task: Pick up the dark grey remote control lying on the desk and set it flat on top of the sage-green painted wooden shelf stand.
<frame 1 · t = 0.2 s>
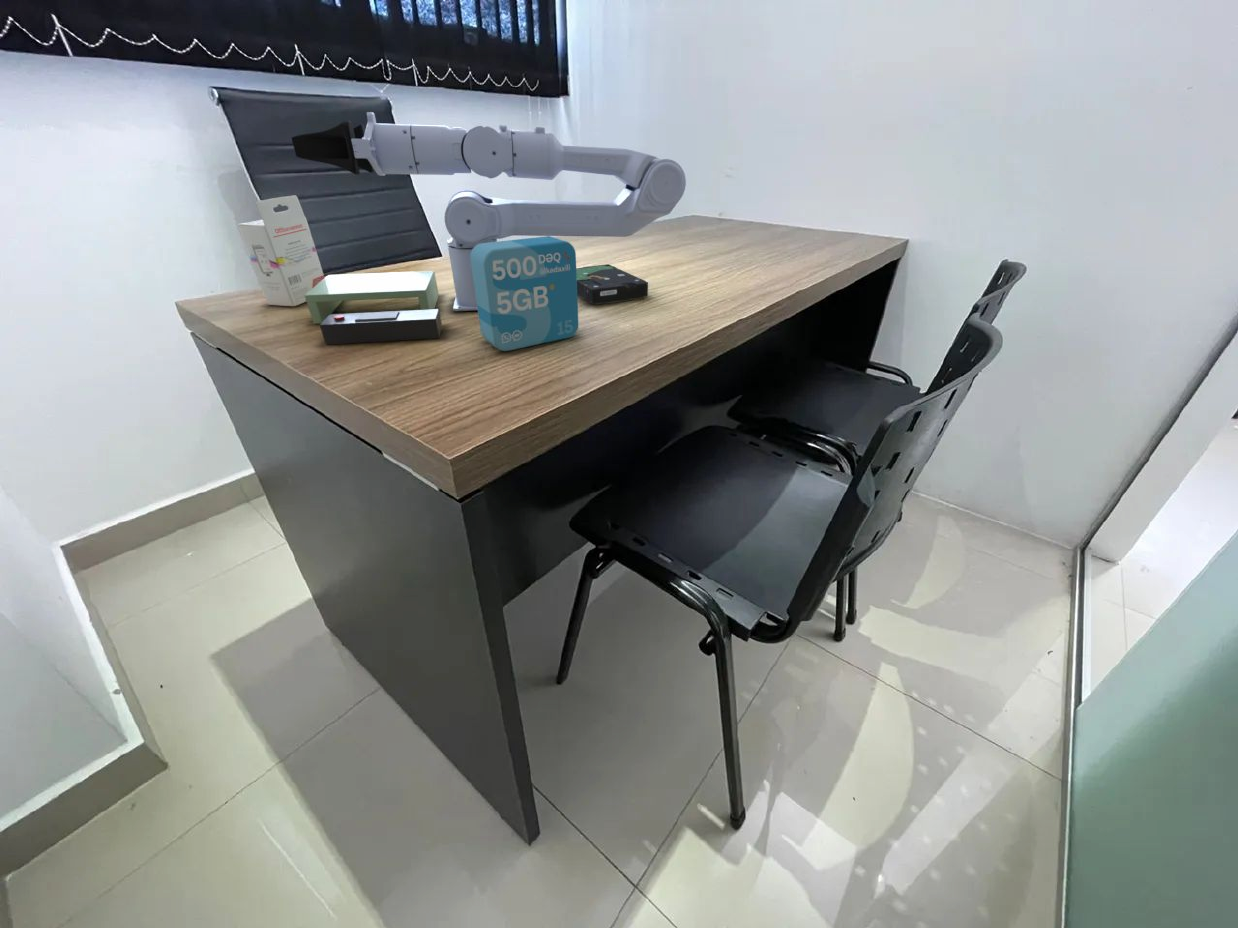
hand: (303, 147, 66), 21 cm above the table, tool horizontal, fingers open, 7 cm apart
shelf: (381, 308, 79), on the table
disk drive: (601, 292, 88), on the table
ink cartridge box: (299, 300, 83), on the table
remote: (386, 335, 68), on the table
data package: (531, 341, 68), on the table
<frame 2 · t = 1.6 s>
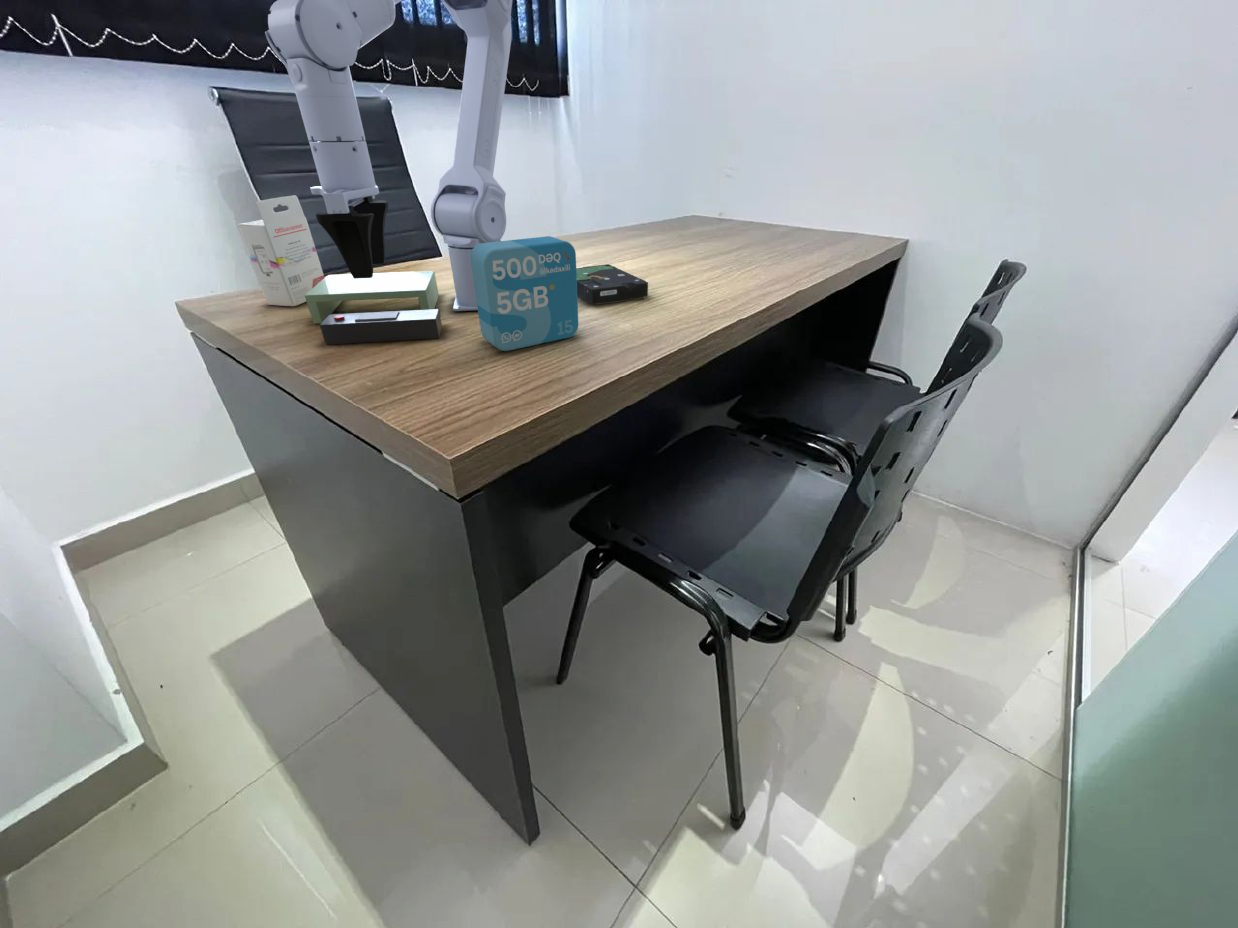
hand: (370, 270, 64), 8 cm above the table, tool pointing down, fingers open, 7 cm apart
nothing on the table moved.
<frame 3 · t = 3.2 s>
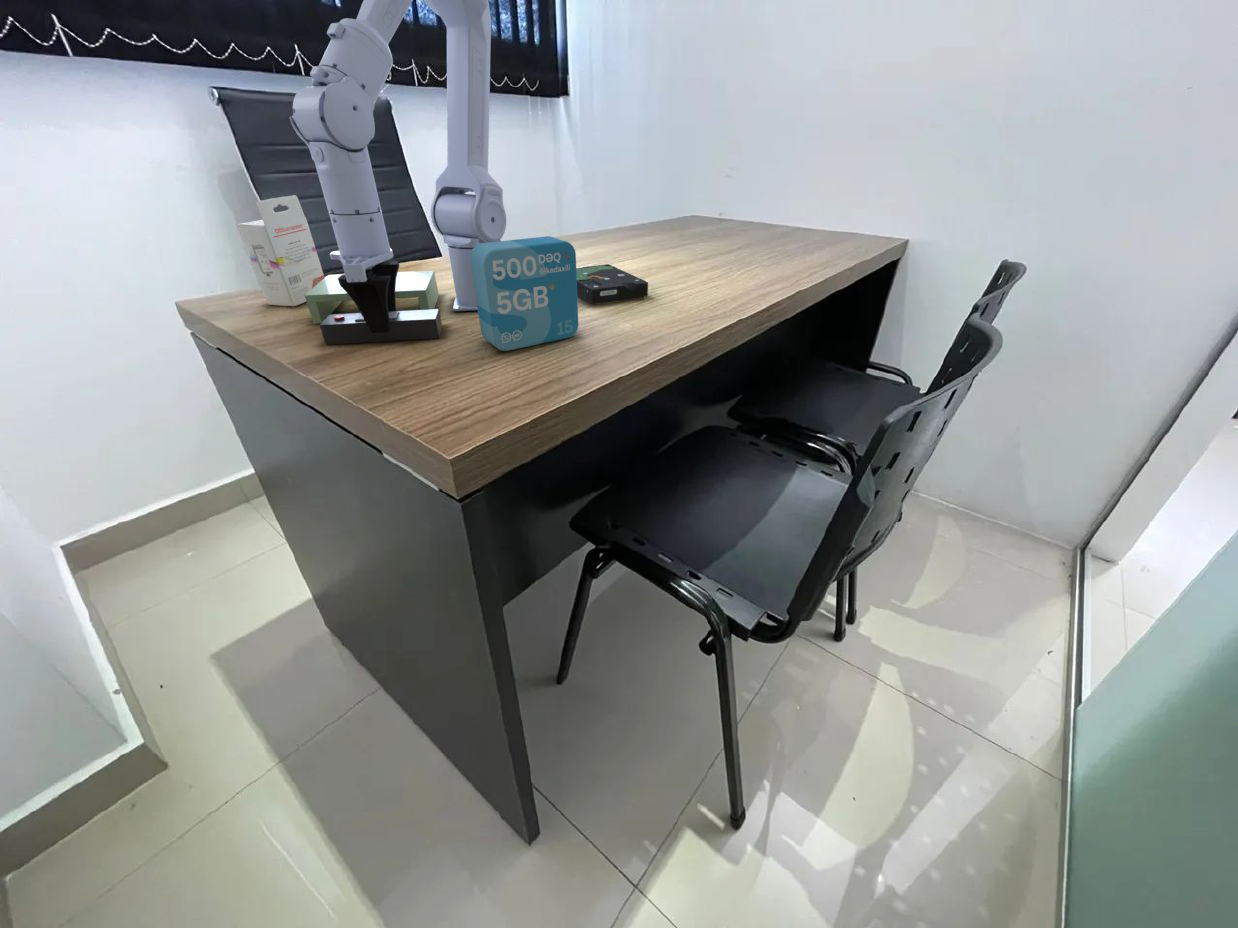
hand: (384, 325, 68), 1 cm above the table, tool pointing down, fingers closed on remote, 4 cm apart
remote: (386, 336, 68), on the table, touching gripper
everything else where it was.
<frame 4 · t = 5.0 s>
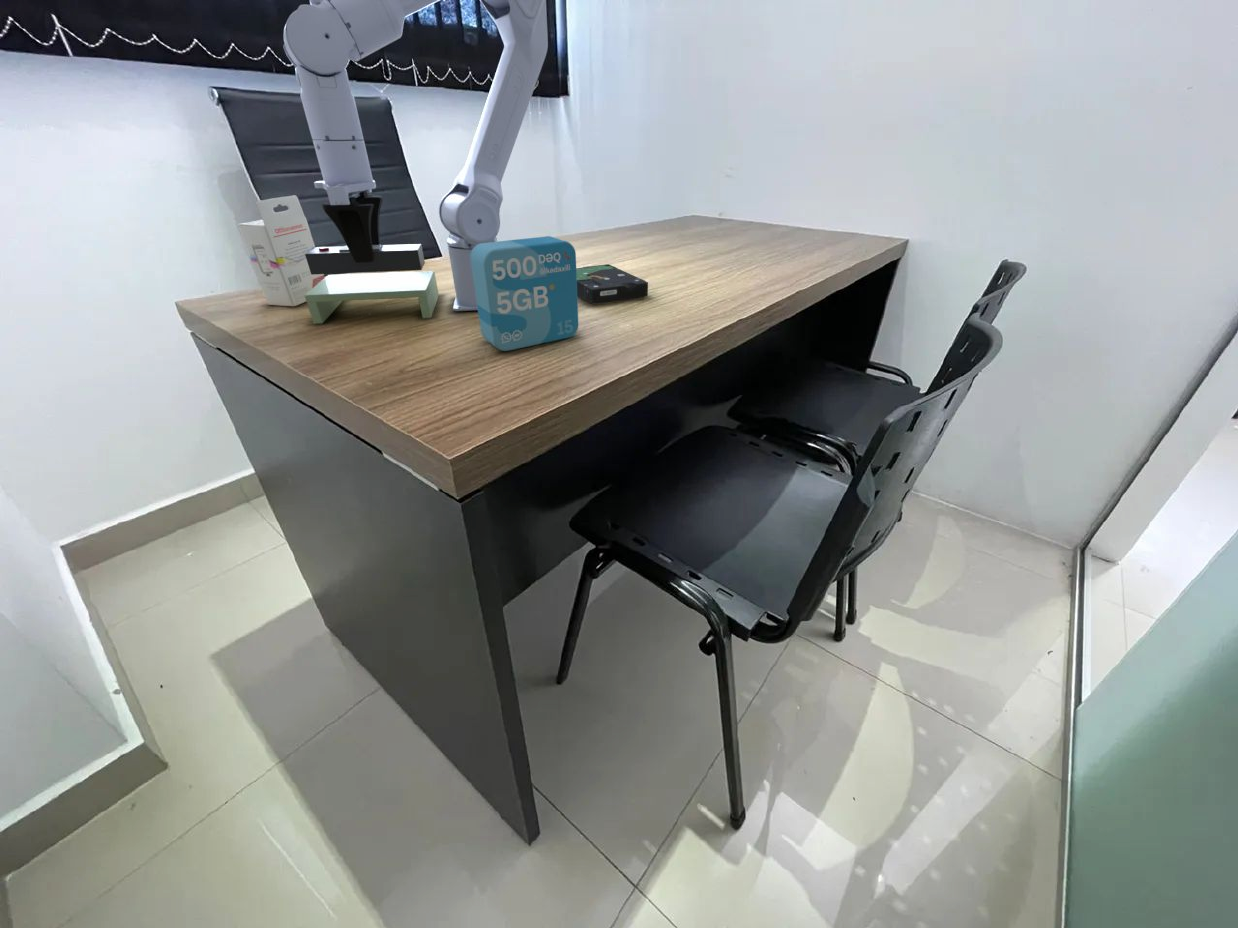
hand: (368, 257, 70), 8 cm above the table, tool pointing down, fingers closed on remote, 4 cm apart
remote: (370, 268, 71), point 7 cm above the table, touching gripper
everything else where it was.
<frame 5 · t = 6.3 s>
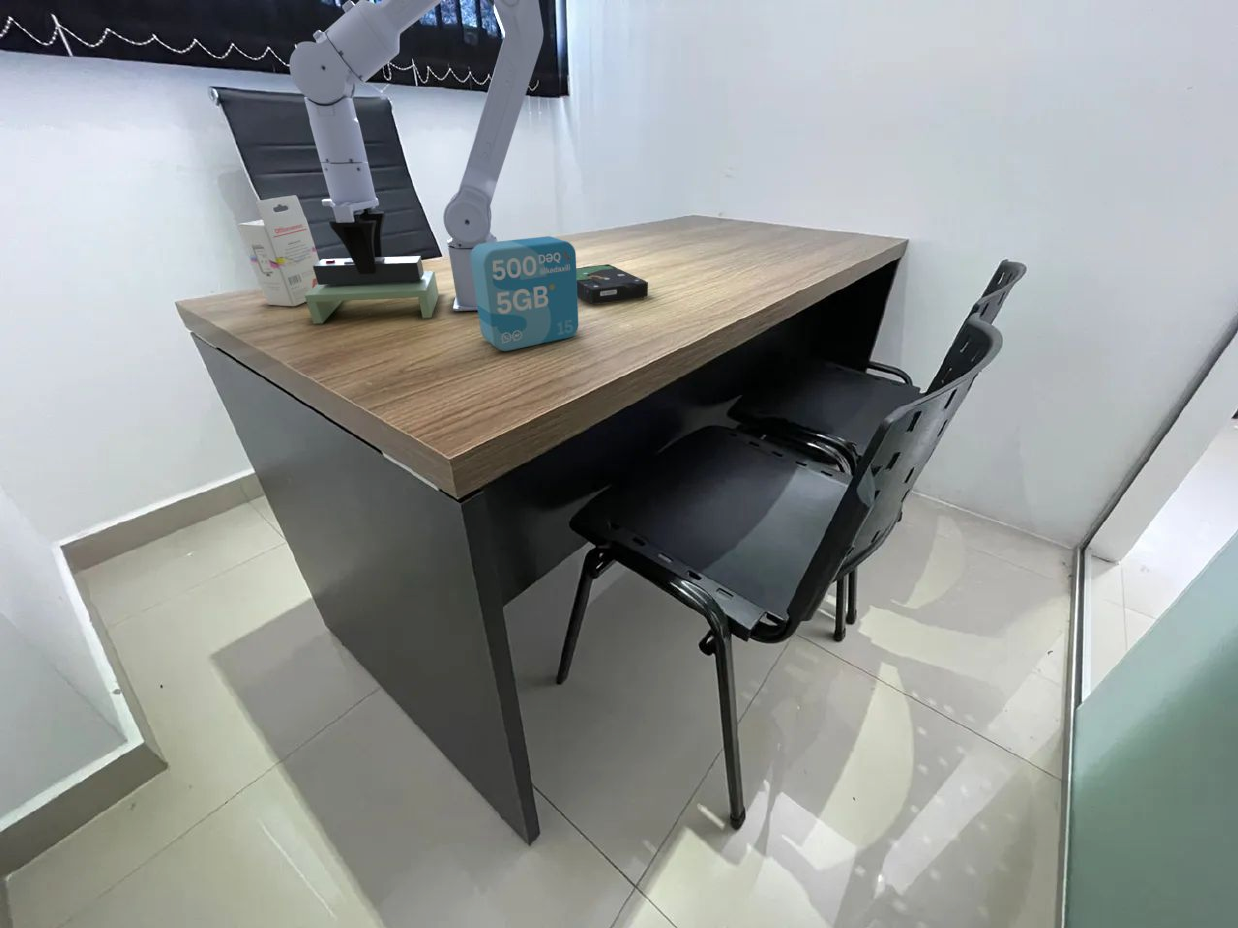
hand: (371, 269, 75), 6 cm above the table, tool pointing down, fingers closed on remote, 4 cm apart
remote: (373, 279, 76), point 4 cm above the table, touching gripper
everything else where it was.
when the fingers open (5 cm above the table, at t = 6.9 s): remote stays where it is, resting on shelf.
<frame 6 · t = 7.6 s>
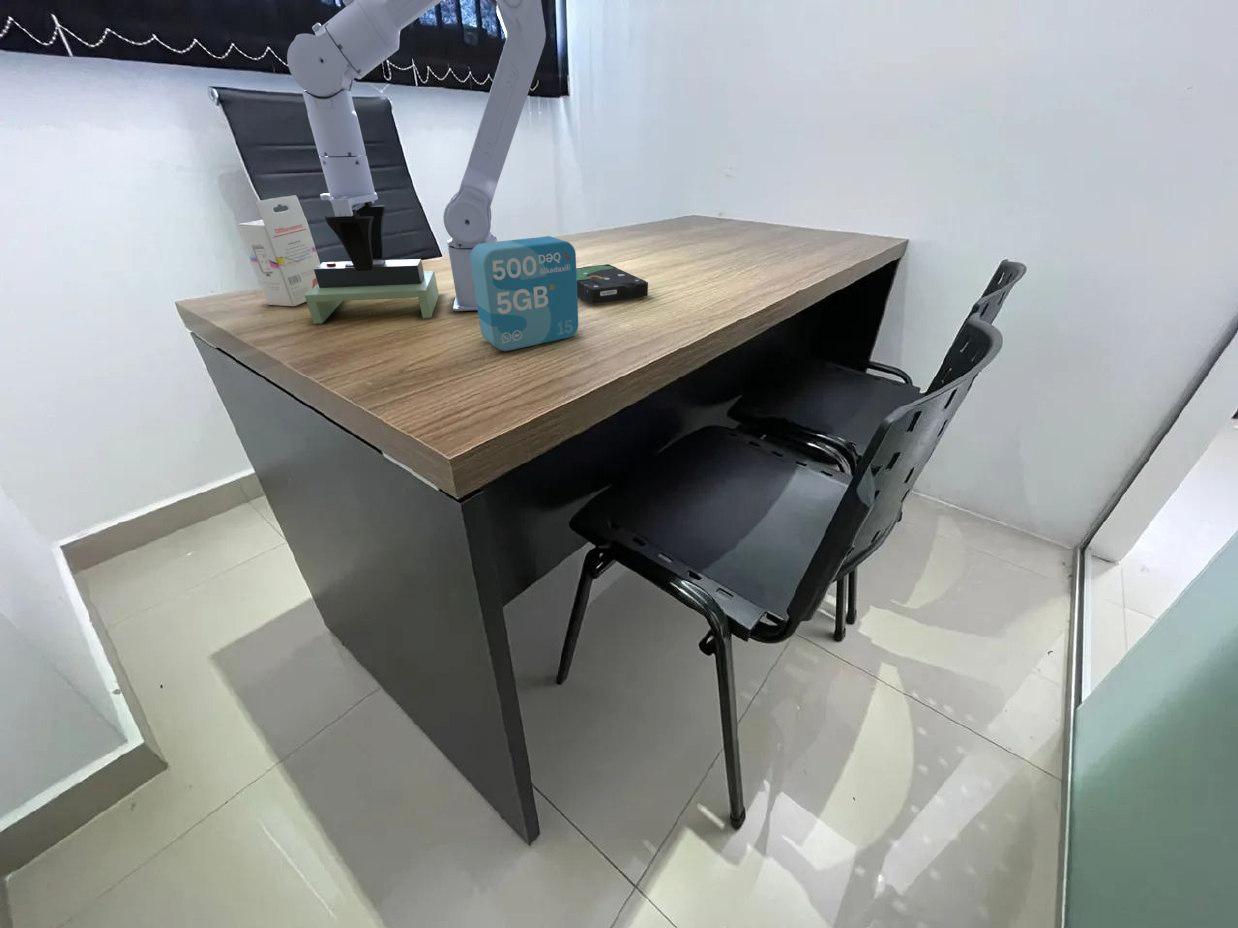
hand: (370, 264, 75), 7 cm above the table, tool pointing down, fingers open, 7 cm apart
remote: (374, 282, 76), point 4 cm above the table, touching shelf
everything else where it was.
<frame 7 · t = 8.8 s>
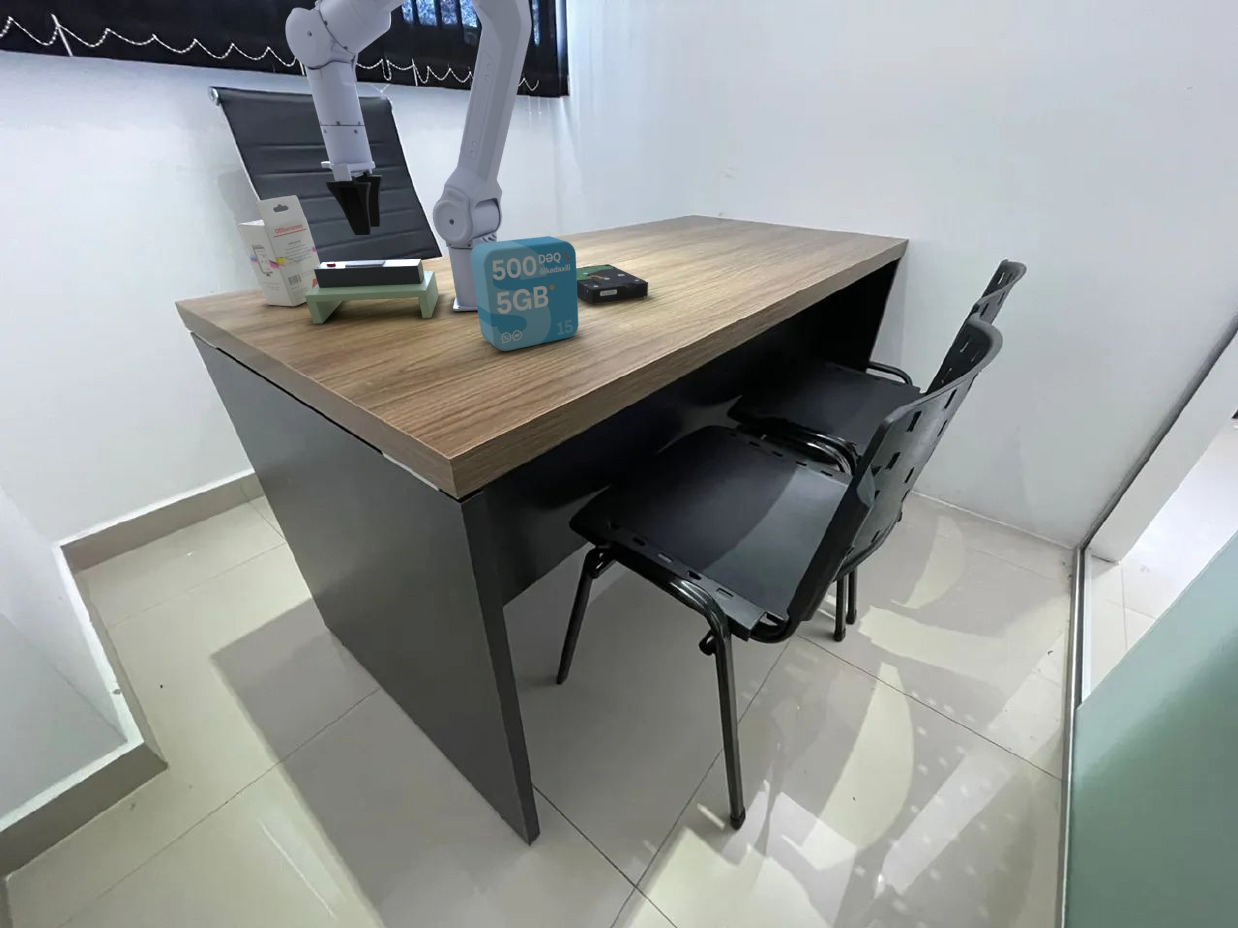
hand: (368, 230, 80), 10 cm above the table, tool pointing down, fingers open, 7 cm apart
nothing on the table moved.
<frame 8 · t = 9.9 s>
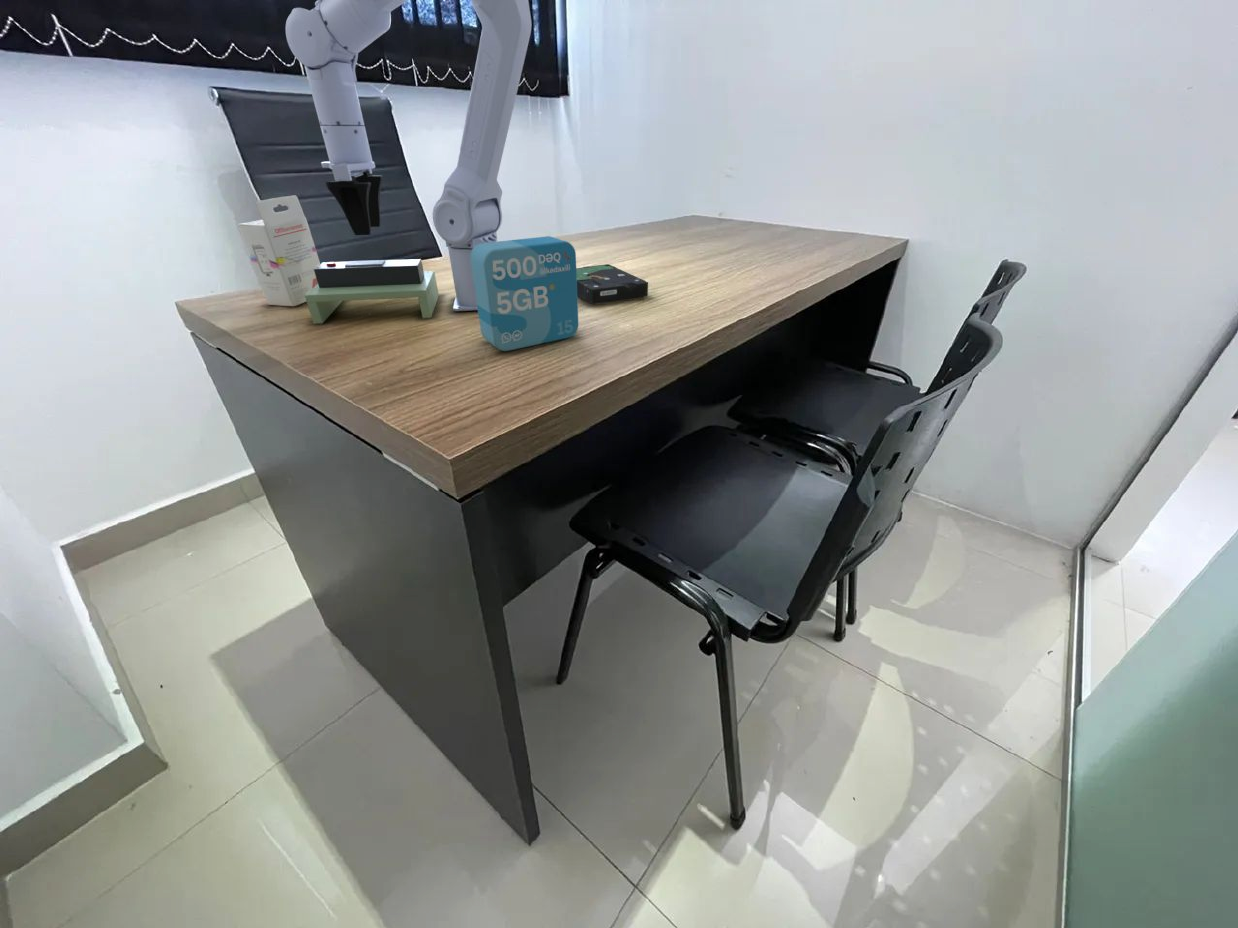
hand: (368, 230, 80), 10 cm above the table, tool pointing down, fingers open, 7 cm apart
nothing on the table moved.
at the end: remote inside the target area on the shelf (0.1 cm from its centre), point 4.0 cm above the shelf's base; remote tilted 0°; the gripper is holding nothing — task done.
